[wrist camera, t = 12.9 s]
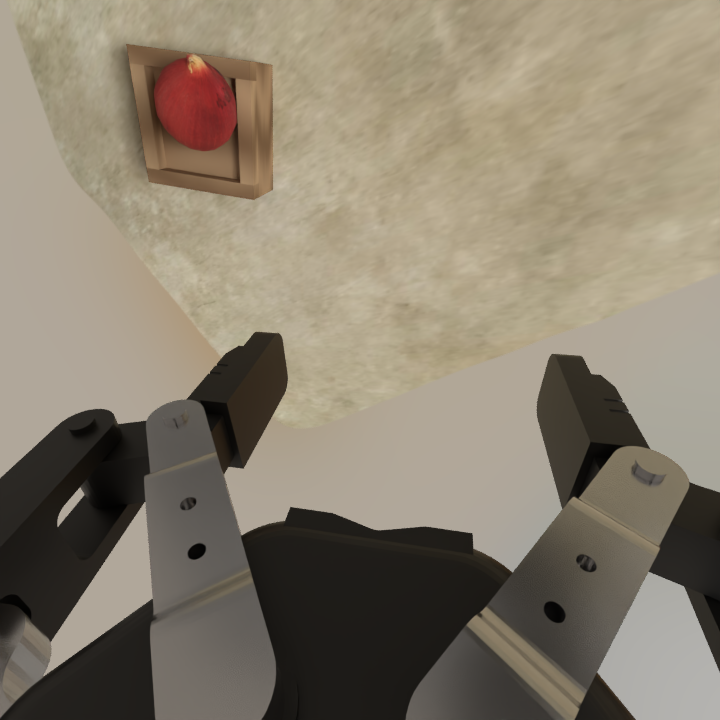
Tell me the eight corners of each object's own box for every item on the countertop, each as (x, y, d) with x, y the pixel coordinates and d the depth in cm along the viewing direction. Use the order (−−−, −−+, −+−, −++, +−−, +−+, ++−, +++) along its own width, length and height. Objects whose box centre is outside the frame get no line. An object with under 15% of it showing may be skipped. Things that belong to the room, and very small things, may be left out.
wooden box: (164, 50, 36) (126, 44, 31) (274, 65, 35) (249, 61, 31) (180, 172, 41) (148, 182, 37) (274, 188, 40) (253, 199, 36)
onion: (210, 107, 36) (217, 17, 29) (244, 163, 36) (259, 86, 29) (143, 119, 33) (133, 23, 26) (179, 180, 33) (178, 100, 26)
